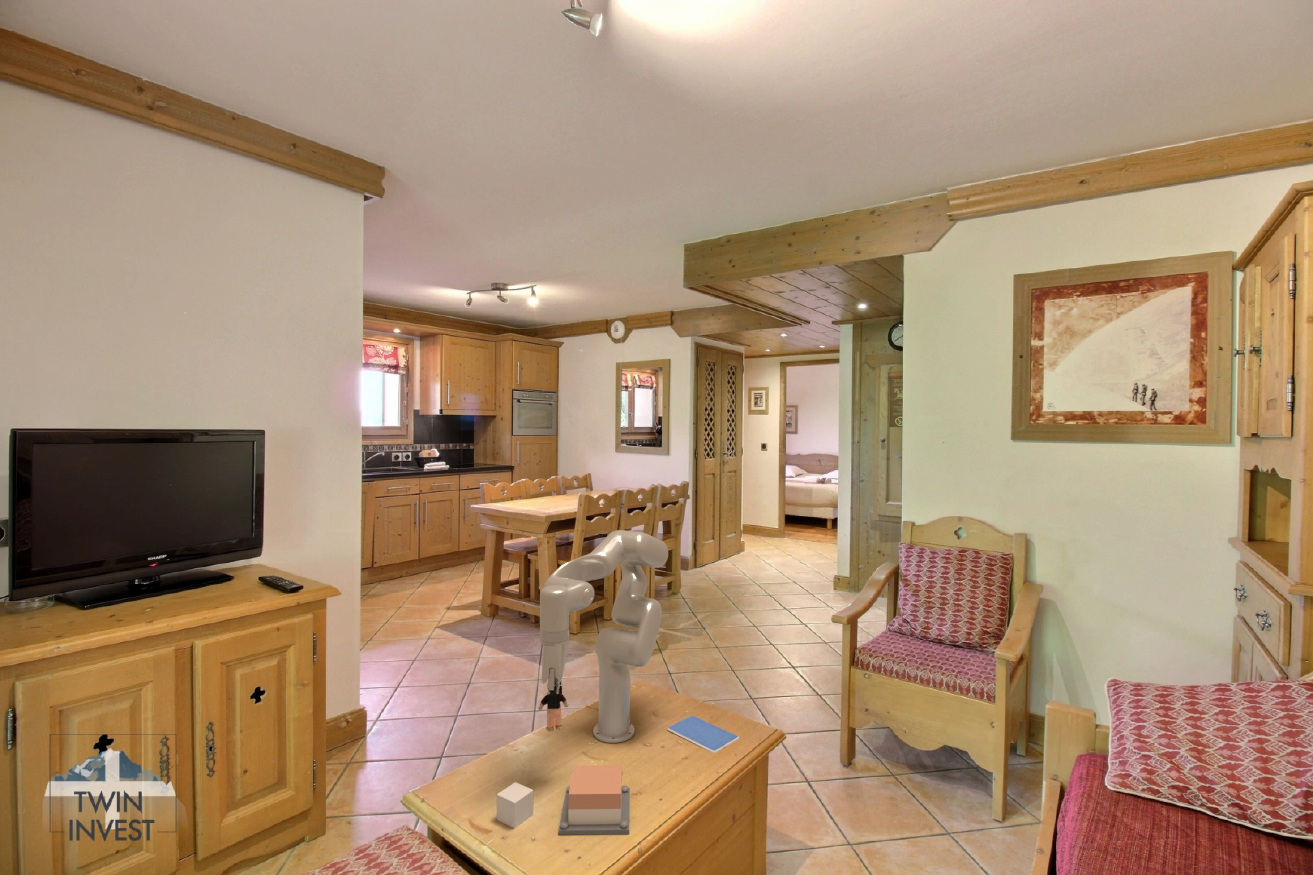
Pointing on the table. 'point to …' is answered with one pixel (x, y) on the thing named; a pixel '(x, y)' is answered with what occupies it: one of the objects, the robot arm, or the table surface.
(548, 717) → the grandmother figurine
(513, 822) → the white cube
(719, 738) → the tablet computer
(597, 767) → the pink framed box
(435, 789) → the table surface
